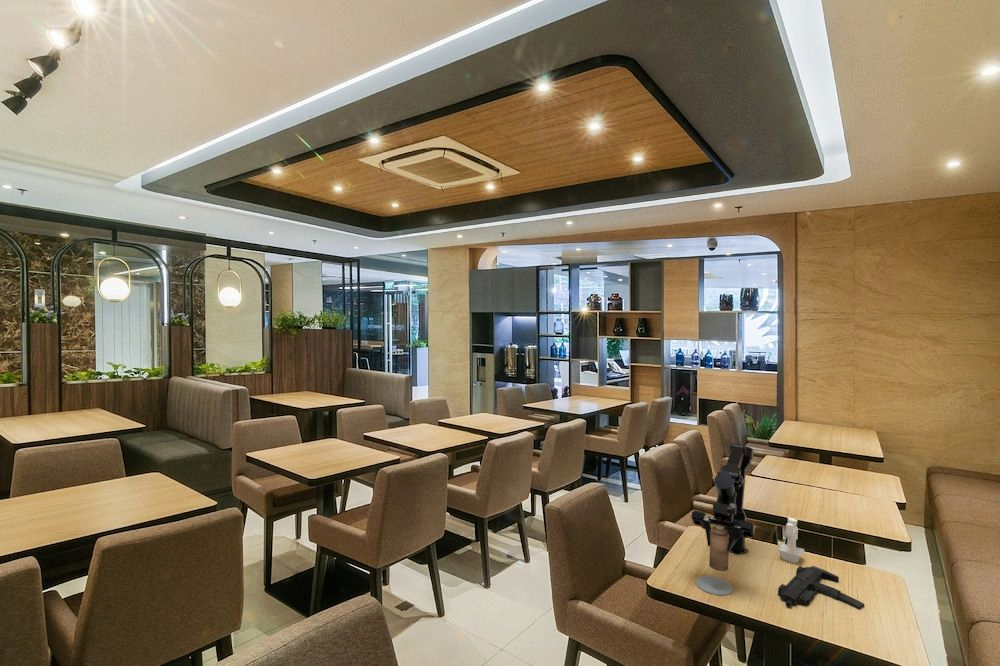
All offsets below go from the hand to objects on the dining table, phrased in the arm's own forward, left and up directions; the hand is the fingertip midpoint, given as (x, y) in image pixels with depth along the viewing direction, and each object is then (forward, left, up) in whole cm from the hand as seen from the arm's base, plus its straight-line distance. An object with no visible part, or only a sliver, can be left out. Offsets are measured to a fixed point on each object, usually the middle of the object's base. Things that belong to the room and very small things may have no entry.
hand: (718, 548), depth 162 cm
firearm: (-27, +17, -14) cm, 35 cm away
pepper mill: (-1, -1, -7) cm, 7 cm away
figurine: (-42, -3, -14) cm, 44 cm away
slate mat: (-1, -2, -13) cm, 13 cm away
